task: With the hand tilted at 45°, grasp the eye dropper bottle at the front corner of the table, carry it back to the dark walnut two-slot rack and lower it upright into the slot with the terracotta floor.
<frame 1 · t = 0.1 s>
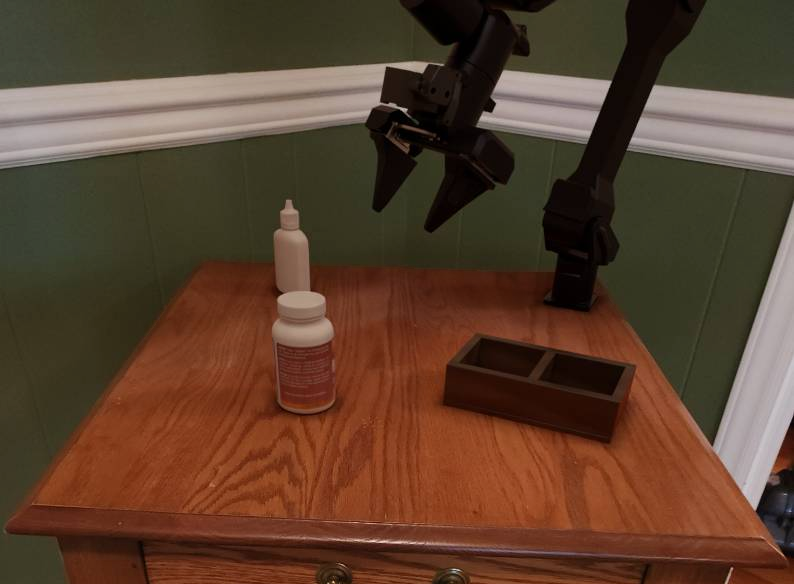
hand: (400, 220, 79), 15 cm above the table, tool tilted 35°, fingers open, 9 cm apart
eye dropper bottle: (293, 292, 103), on the table
rack: (535, 404, 78), on the table
pill bottle: (306, 403, 77), on the table
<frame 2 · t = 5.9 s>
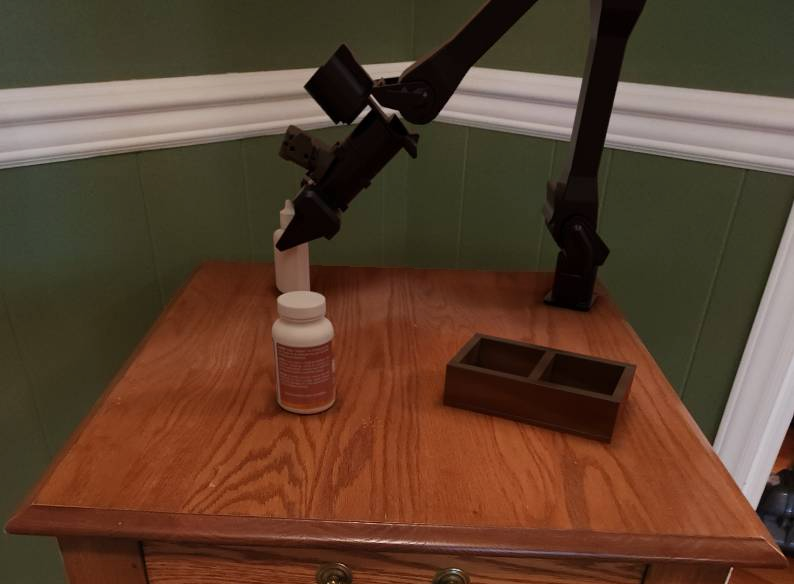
hand: (280, 242, 99), 7 cm above the table, tool tilted 45°, fingers closed on eye dropper bottle, 5 cm apart
eye dropper bottle: (293, 292, 103), on the table, touching gripper
everything else where it was.
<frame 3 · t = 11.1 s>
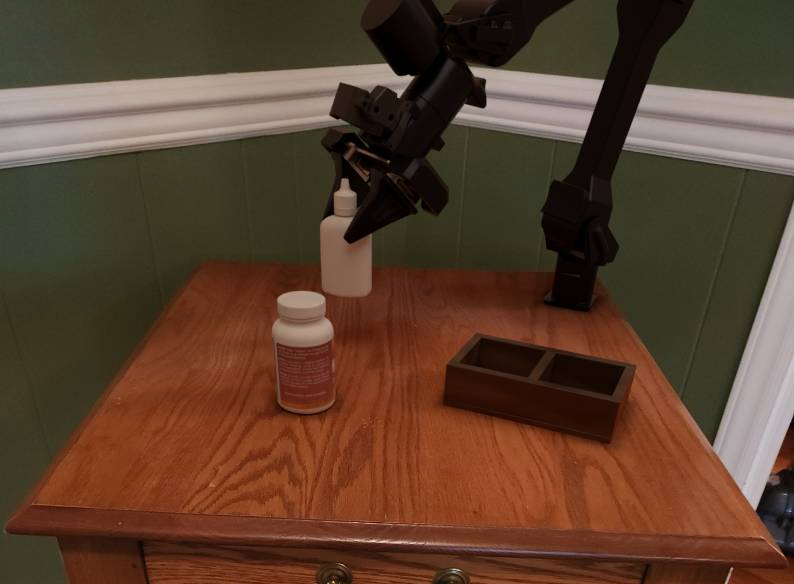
hand: (334, 234, 79), 13 cm above the table, tool tilted 45°, fingers closed on eye dropper bottle, 5 cm apart
eye dropper bottle: (346, 294, 84), point 7 cm above the table, touching gripper
everything else where it was.
when the fingers open (7 cm above the table, at t = 16.7 s): eye dropper bottle stays where it is, resting on rack.
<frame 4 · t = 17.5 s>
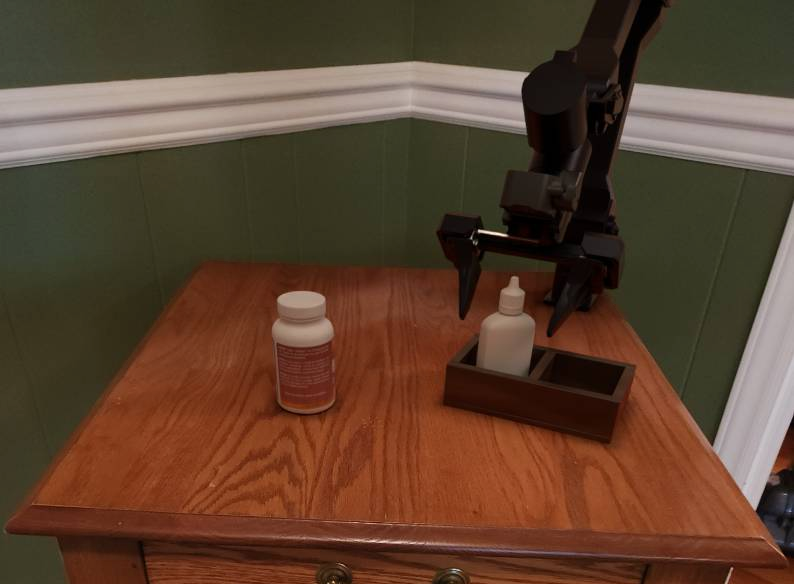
hand: (504, 326, 73), 8 cm above the table, tool tilted 45°, fingers open, 9 cm apart
eye dropper bottle: (499, 390, 79), point 1 cm above the table, touching rack
everything else where it was.
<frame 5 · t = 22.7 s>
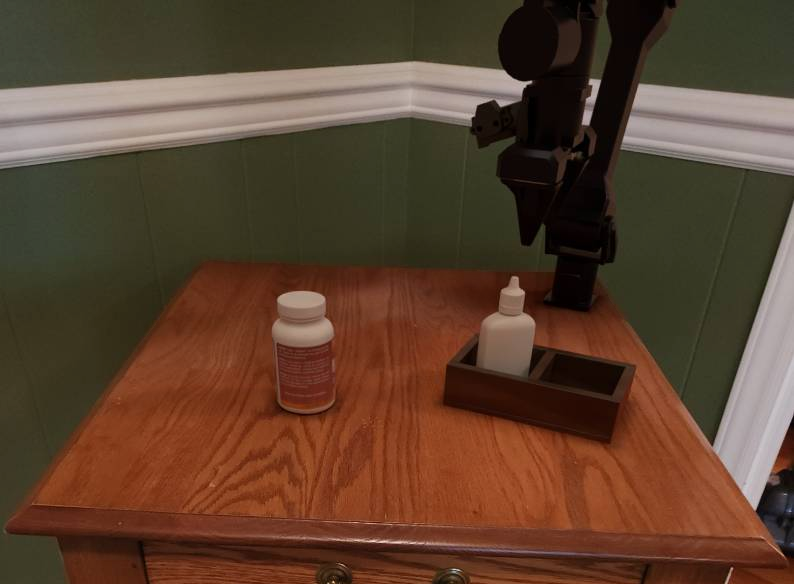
hand: (537, 235, 83), 13 cm above the table, tool pointing down, fingers open, 9 cm apart
nothing on the table moved.
at the end: eye dropper bottle 0.2 cm from the target spot in the rack, point 0.6 cm above the rack's base; eye dropper bottle tilted 0°; the gripper is holding nothing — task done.
